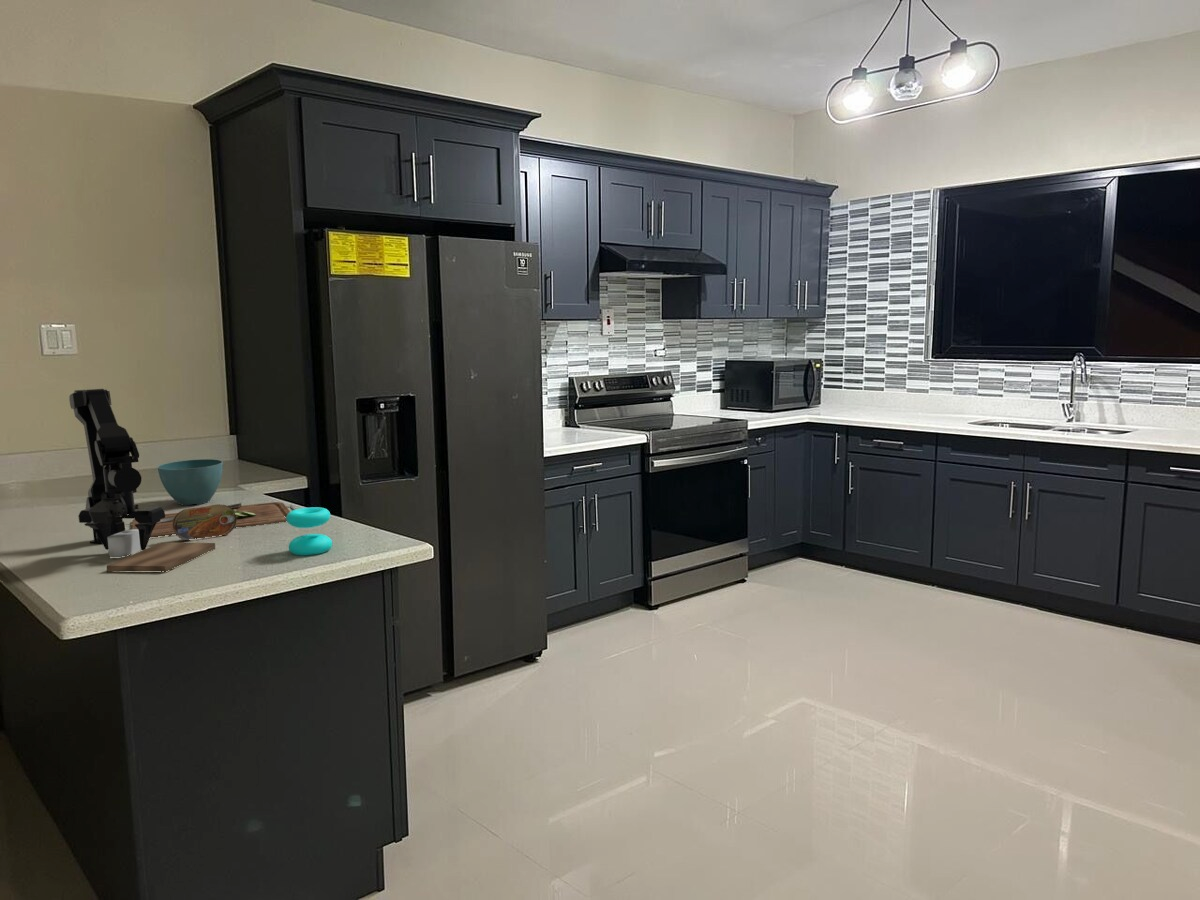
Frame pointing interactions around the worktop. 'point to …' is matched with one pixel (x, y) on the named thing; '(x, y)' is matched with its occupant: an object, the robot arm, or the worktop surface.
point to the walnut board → (161, 557)
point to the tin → (204, 522)
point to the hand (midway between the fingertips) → (125, 549)
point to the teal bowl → (191, 479)
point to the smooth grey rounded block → (124, 543)
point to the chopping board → (244, 517)
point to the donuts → (309, 542)
